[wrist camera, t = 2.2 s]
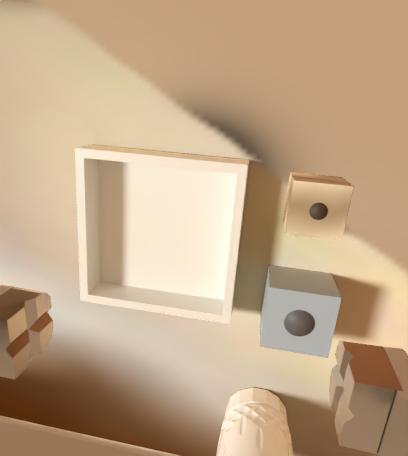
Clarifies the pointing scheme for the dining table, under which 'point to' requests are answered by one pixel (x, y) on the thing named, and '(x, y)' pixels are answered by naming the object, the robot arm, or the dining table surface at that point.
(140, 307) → the cream tray
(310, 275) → the slate block
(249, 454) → the white cup
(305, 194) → the maple block
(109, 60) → the dining table surface
